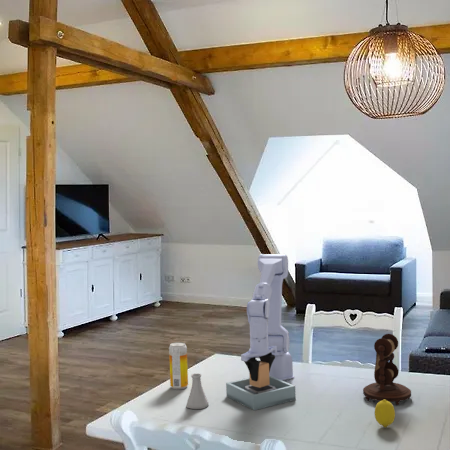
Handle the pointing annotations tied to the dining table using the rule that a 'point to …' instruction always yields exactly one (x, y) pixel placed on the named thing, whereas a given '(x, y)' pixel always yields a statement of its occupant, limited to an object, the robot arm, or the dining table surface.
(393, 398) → the brown tall knobby piece
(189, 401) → the flask
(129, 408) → the dining table surface
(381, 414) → the lemon
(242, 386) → the socket box
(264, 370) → the plug
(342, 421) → the dining table surface
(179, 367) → the beer can
